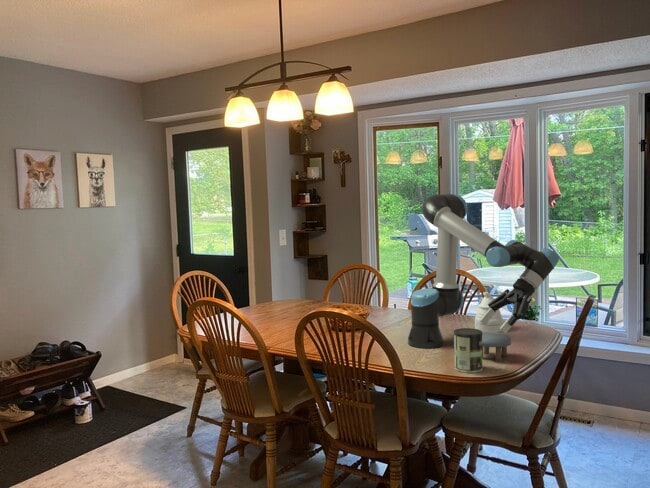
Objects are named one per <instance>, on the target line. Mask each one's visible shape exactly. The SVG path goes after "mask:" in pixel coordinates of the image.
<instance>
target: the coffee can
mask: <svg viewBox="0 0 650 488" xmlns="http://www.w3.org/2000/svg"><path fill="white" fill-rule="evenodd" d="M482 333H483V332H482V331H481V330H478V329H475V328H469V327H468V328H467V327H466V328H465V327H462V328H456V329H453V349H454V351H453V352H454V354H453V358H454V360H453V361H454V363H453V365H454V367H453V369H454V370H455V371H457V372H461V373H467V374H475V373H481V372H482V371H483V359H482Z"/></svg>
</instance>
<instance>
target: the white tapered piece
mask: <svg viewBox="0 0 650 488" xmlns="http://www.w3.org/2000/svg"><path fill="white" fill-rule="evenodd" d="M482 294H483V296H484V297H483V298H482V299H481V302H480V303H479V304H477V307H478V308H477V311H476V314H475V315H476V316H475V317H474V329H478V330H481V331H482V333H501V332H503V331H502V330H501V329H500V328H501V326H502V325H503V324H504V319H503V317H502V313H501V311H500V309H498V310H496V313H495V314H494V315H493V316H492V318H491V319H490V320H489V321H488V323H487V324H486V325H483V324H482V323H481V322H480V319H481V318H482V317H483V316H484V315H485V313H486V312H487V311H488V309H489V306H488V304H489V303H490V302H492V301H493V300H494V299H495V298H494V296H492V295H491V294H490V293H489V292H488V291H484V292H483V293H482Z"/></svg>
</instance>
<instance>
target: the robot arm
mask: <svg viewBox="0 0 650 488" xmlns="http://www.w3.org/2000/svg"><path fill="white" fill-rule="evenodd" d="M467 204H468V203H467V202H466V200H465V199H464V198H463V197H462V196H461V195H458V194H453V193H449V194H448V193H446V194H433V195H430V196H428V197H426V198H425V200H424V201H423V202H422V206H421V213H422V215H423V217H424V219H425V220H426V221H427V222H428V223H430V224H431V225H433V226H434V227H435V228H437V244H436V245H437V247H436V248H437V249H436V273H435V274H436V277H435V278H436V279H435V282H433V283H432V288H430V287H429V288H420V289H417V290H415V291H413V292H412V293H411V297H410V299H411V300H410V305H411V307H410V309H411V314H410V316H411V328H410V330H409V333H408V336H407V337H408V338H407V345H409V346H411V347H414V348H419V349H435V348H439V347H442V346H443V345H444V338H443V335H442V332H441V329H440V321H439V319H440V318H441V317H445V316H450V315H451V316H452V315H453V314H455V313H458V312H459V311H460V310H461V309H462V307H463V305H464V295H463V293H462V291H461V290H460V286H459V284H458V283H457V282H456V281H457V258H458V257H457V256H458V240H460V241H461V242H462V243H463V244H465V245H467V246H468V247H470V248H471V249H473V250H475V251H476V252H478V253H479V254H480V255H481V256H483V257H485V259H486V262H487V263H488V264H487V265H489V266H491V267H493V268H503V267H508V266H512V265H517V264H519V265H521V266H523V267H525V268H526V269H525V270H524V271H523V272H522V273H521V274H520V276H519V278H517V279H516V280H515V282H514V283H513V285H512V287H513V289H512V290H511V291H510V290H509V288H507V289H505V290H504V291H503V292H502V293H500V295H498V296H497V297H496V298H494V300H493V301H492V302H490V303H489V304H488V306H489V309H488V311H487V312H486V313H485V315H484V316H483V317H482V318H481V319H480V322H481V323H482V324H483V325H486V324H487V323H488V321H489V320H490V319H491V318H492V316H493V315H494V314H495V313H496V310H498V309H499V310H500V309H501V308H503V307H505V306H507V305H511V304H512V305H514V306H513V313H511V314H510V315H509V316H508V318H507V319H506V320H505V322H503V325H502V326H501V328H500V329H501V330H502V331H501V332H502V333H503V334H504V335H507V333H508V331H510V329H511V328H512V327H513V326H514V325H515V323H516V322H517V321H519V320H524V319H525V317H526V314H527V313H528V309H529V305H530V304H531V302H532V300H533V298H532V296H533V294H534V293H535V291H536V290H538V288H539V287H540V286H541V285H542V283H543V282H544V281H545V279H546V278H547V277H548V276H549V275H550V273H552V271H553V270H554V269H555V267H556V266H557V265H558V263H559V261H560V258H559V255H558V254H557V253H556V252H555V251H554V250H552V249H550V248H546V247H544V248H542V249H541V250H540V251H539V250H537V249H535V248H532V247H530V246H529V245H526V244H525V243H523V242H522V241H519V240H516V239H511V240H509V241H508V242H507V243H506V244H505V245H504V244H502V243H501V242H500V241H497V240H496V239H494V238H493V237H491V236H490V235H488V234H487V233H485V232H484V231H482V230H481V229H479V228H477V227H475V226H474V225H473V224H471V223H469V222H468V221H466V220H465V217H466V216H467V215H468V209H469V208H468V205H467Z"/></svg>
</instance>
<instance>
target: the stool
mask: <svg viewBox="0 0 650 488" xmlns="http://www.w3.org/2000/svg"><path fill="white" fill-rule="evenodd" d="M511 344H512V337H511V336H510V335H507V334H505V333H499V332H496V333H487V332H482V360H483V359H484V355H490V348H495V362H498V363H499V362H502V358H507V356H508V353H507V352H508V350H507V348H508V347H509V346H511Z"/></svg>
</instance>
